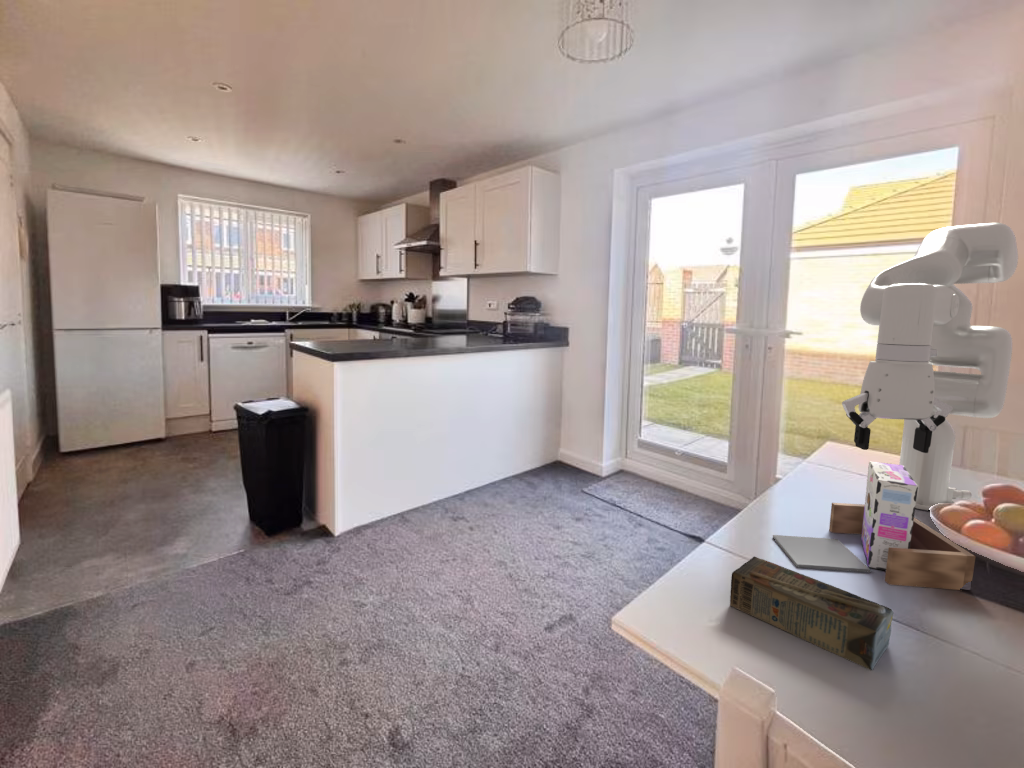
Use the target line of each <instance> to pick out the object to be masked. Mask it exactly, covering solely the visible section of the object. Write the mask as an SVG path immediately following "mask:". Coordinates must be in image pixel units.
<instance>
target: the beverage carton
mask: <svg viewBox="0 0 1024 768" xmlns="http://www.w3.org/2000/svg"><path fill="white" fill-rule="evenodd" d="M730 578H731V579H730V595H729V606H730V607H732V608H734V609H737V610H738V611H740V612H743V613H744V614H747V615H749V616H752V617H753V618H756V619H758V620H760V621H763V622H764V623H767V624H768V625H771V626H773V627H776V628H778V629H780V630H781V631H784V632H787V633H788V634H791V635H792V636H794V637H797V638H799V639H801V640H804V641H806V642H808V643H809V644H813V645H814V646H817V647H818V648H821V649H823V650H825V651H828V652H830V653H831V654H834V655H836V656H838V657H840V658H843V659H846V660H848V661H851V662H852V663H855V664H857V665H858V666H861V667H864V668H866V669H868V670H870V671H873V670H874V668H875V666H876V665H877V663H878V662H879V660H880V658H881V657H882V656H883V655H884V653H885V652H886V650H887V649H888V647H889V644H890V638H891V633H892V622H893V616H894V609H892V608H890V607H887V606H885V605H883V604H879V603H877V602H875V601H872V600H869V599H866V598H863V597H862V596H859V595H857V594H854V593H852V592H850V591H846V590H843V589H841V588H839V587H836V586H834V585H831V584H829V583H826V582H823V581H821V580H818V579H815V578H813V577H810V576H807V575H804V574H802V573H799V572H797V571H794V570H792V569H789V568H787V567H784V566H782V565H780V564H776V563H774V562H770V561H768V560H767V559H766V560H765V559H764V558H759V557H758V556H752V558H750V559H749V560H747V561H746V562H744V563H743V564H742V565H741V566H739V568H737V569H735V570H733V571H732V572H731V577H730Z"/></svg>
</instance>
